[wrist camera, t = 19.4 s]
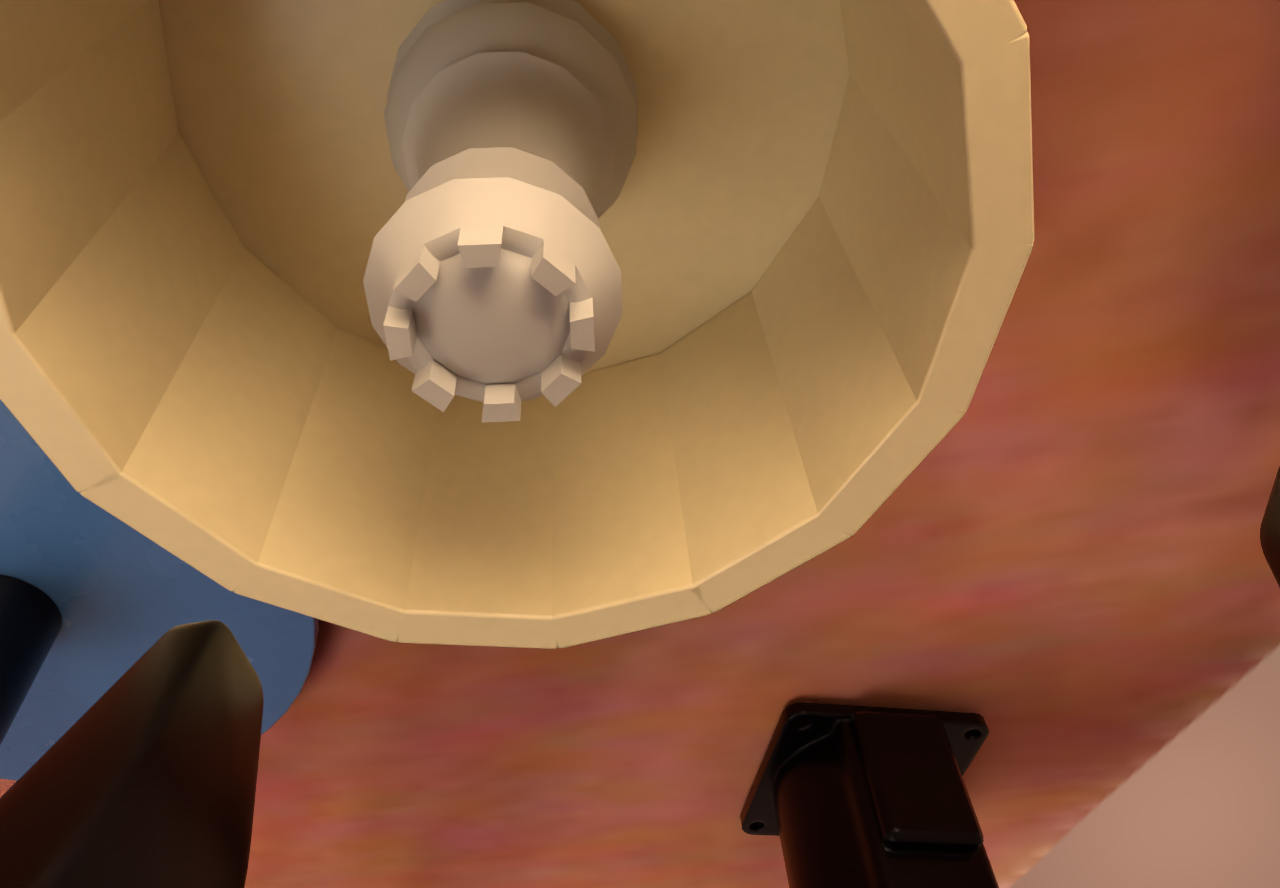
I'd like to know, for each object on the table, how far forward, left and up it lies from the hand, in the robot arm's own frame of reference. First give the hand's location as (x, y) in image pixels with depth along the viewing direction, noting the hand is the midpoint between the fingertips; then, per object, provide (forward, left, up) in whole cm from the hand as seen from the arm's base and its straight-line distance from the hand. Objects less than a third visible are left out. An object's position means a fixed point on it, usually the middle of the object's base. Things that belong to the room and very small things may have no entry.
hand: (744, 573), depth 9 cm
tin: (-1, +2, -13) cm, 13 cm away
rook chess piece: (-1, +2, -12) cm, 13 cm away
